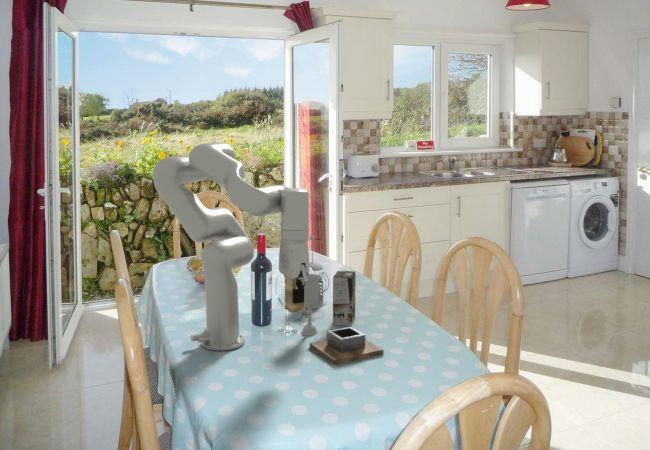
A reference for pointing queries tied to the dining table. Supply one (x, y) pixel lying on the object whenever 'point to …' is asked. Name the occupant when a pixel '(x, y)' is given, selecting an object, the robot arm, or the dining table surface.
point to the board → (345, 357)
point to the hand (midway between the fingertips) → (294, 299)
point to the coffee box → (344, 298)
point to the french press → (316, 267)
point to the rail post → (289, 296)
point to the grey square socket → (346, 339)
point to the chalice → (311, 301)
